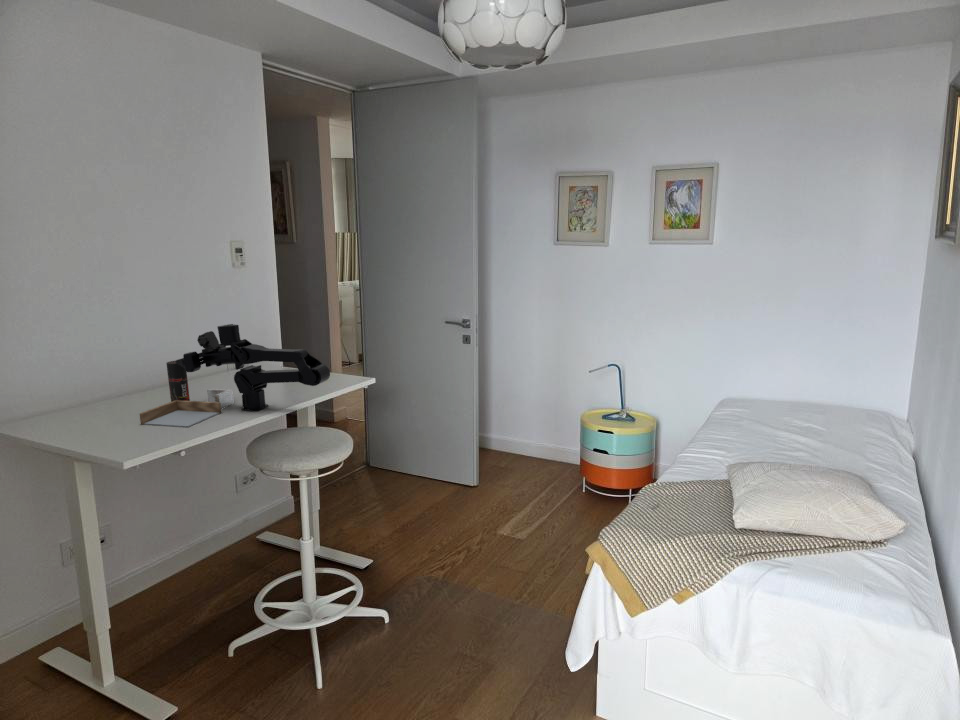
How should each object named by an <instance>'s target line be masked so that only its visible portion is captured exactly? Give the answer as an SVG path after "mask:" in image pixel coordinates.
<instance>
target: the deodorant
mask: <svg viewBox="0 0 960 720" xmlns="http://www.w3.org/2000/svg"><path fill="white" fill-rule="evenodd" d="M166 371H167V380H168V388H169V395H170V402H172V401H175V400H182V401H191V399H190V390H189V381H188V375H187V373H188V372H187V371H186V368H184V367H182V366H180V365H178V364H176V360H170V361H166Z"/></svg>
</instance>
